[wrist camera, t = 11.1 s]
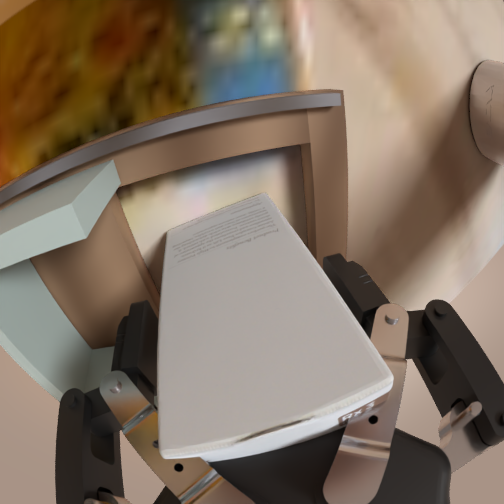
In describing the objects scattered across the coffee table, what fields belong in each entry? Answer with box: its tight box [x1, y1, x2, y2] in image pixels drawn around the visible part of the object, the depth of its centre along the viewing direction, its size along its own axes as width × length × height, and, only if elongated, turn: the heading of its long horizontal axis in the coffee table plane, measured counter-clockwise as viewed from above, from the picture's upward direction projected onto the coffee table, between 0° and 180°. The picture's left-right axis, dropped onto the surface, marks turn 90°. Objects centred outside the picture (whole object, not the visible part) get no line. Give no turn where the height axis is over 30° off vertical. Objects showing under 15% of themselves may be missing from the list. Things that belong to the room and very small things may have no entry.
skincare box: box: [157, 193, 394, 462], centre depth 11 cm, size 6×4×12 cm
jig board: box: [0, 89, 348, 350], centre depth 15 cm, size 20×15×2 cm
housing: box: [0, 160, 158, 407], centre depth 12 cm, size 9×13×5 cm
